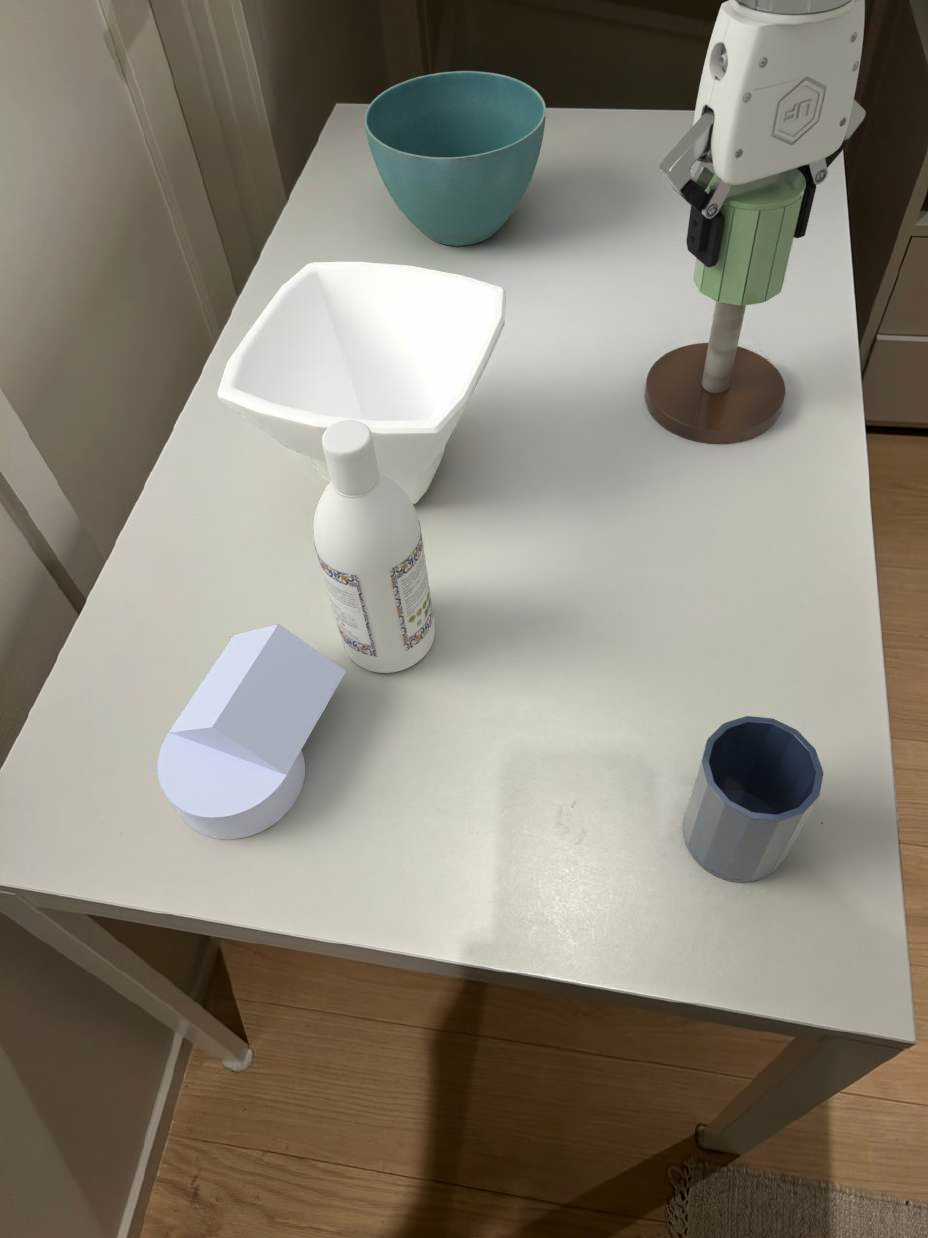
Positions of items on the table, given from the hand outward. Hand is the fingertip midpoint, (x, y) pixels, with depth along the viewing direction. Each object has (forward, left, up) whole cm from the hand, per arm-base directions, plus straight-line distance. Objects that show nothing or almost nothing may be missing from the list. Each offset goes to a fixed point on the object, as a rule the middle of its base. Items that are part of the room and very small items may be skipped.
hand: (745, 241), depth 71 cm
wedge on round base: (+22, +45, -15) cm, 53 cm away
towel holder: (0, 0, -15) cm, 15 cm away
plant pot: (+32, -21, -15) cm, 41 cm away
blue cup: (-10, +40, -15) cm, 44 cm away
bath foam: (+17, +33, -15) cm, 41 cm away
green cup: (0, 0, -3) cm, 3 cm away
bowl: (+24, +17, -15) cm, 34 cm away
